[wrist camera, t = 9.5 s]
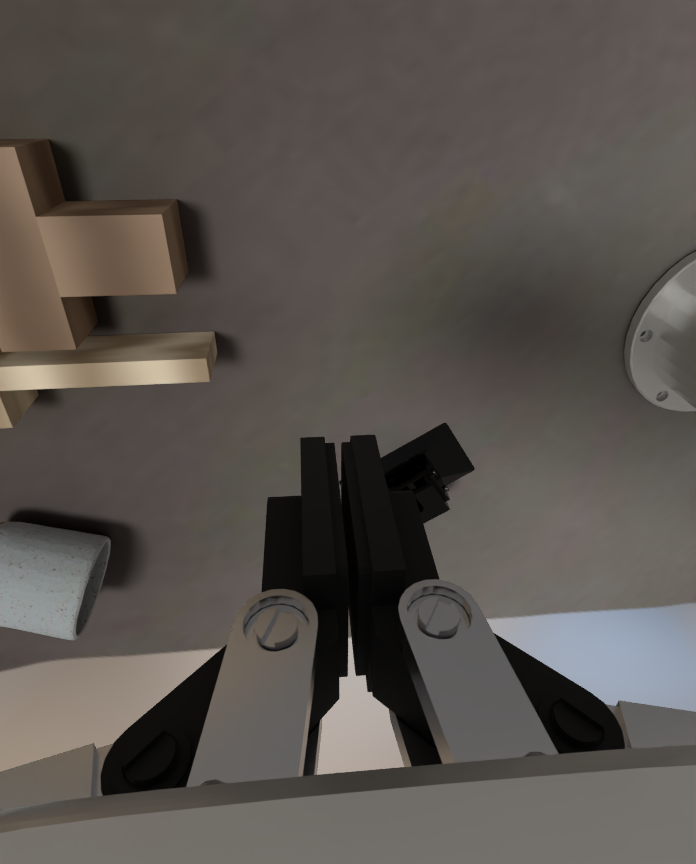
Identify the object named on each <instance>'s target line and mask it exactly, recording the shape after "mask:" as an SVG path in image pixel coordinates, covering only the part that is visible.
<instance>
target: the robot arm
mask: <svg viewBox="0 0 696 864" xmlns="http://www.w3.org/2000/svg"><path fill="white" fill-rule="evenodd" d="M624 360H625V368H626V371H627V374H628V378H629V380H630V381H631V383H632V384H633V386H634V387H635V389H636V390H637V391H638V392H639V393H640V394H642V395H643V396H644V397H645V398H646V399H647V400H648V401H650V402H651V403H653V404H654V405H656V406H659V407H662V408H664V409H667V410H672V411H680V412H690V411H696V251H695V252H693V253H692V254H690V255H688V256H686V257H685V258H684V259H682V260H681V261H680V262H679V263H677V264H676V265H675V266H674V267H672V268H671V269H670V270H669V271H668V272H667V273H666V274H665V275H664V276H663V277H662V278H661V279H660V280H659V281H658V282H657V283H656V284H655V285H654V286H653V287H652V289H651V290H650V291H649V293H648V294H647V295H646V297H645V298H644V299H643V301H642V302H641V304H640V306H639V308H638V309H637V311H636V313H635V315H634V317H633V319H632V321H631V324H630V327H629V330H628V333H627V336H626V342H625V348H624ZM300 441H301V495H302V496H285V497H268V501H267V515H266V531H265V547H264V563H263V579H262V593H258V594H257V595H255V596H254V597H252V598H250V599H249V600H248V601H247V602H246V603H245V604H244V605H243V606H242V607H241V608H240V609H239V611H238V613H237V615H236V618H235V620H234V623H233V627H232V630H231V634H230V637H229V640H228V644H227V645H226V646H225V647H223V648H222V649H221V650H220V651H219V652H217V653H216V654H215V655H214V656H213V657H212V658H210V659H209V660H208V661H207V662H206V663H205V664H203V665H202V666H201V667H200V668H199V669H197V670H196V671H195V672H194V673H193V674H192V675H190V676H189V677H188V678H187V679H186V680H184V681H183V682H182V683H181V684H180V685H179V686H177V687H176V688H175V689H174V690H173V691H172V692H170V693H169V694H168V695H167V696H166V697H165V698H163V699H162V700H161V701H160V702H159V703H157V704H156V705H155V706H154V707H153V708H152V709H150V710H149V711H148V712H147V713H146V714H144V715H143V716H142V717H141V718H140V719H139V720H138V721H136V722H135V723H134V724H133V725H131V726H130V727H129V728H128V729H127V730H126V731H125V732H124V733H123V734H122V735H121V736H120V737H119V738H118V739H117V740H116V741H115V742H114V743H113V744H110V745H107V746H104V747H100V748H97V749H96V747H95V745H94V743H93V744H90V745H86V746H83V747H80V748H77V749H74V750H70V751H67V752H63V753H60V754H57V755H54V756H51V757H47V758H44V759H41V760H37V761H34V762H31V763H28V764H24V765H21V766H18V767H15V768H11V769H8V770H5V771H2V772H0V864H696V712H692V711H686V710H679V709H672V708H665V707H658V706H652V705H645V704H639V703H632V702H625V701H618V704H617V705H616V706H612V705H605V703H604V702H602V701H601V700H599V699H598V698H597V697H596V696H594V695H593V694H592V693H590V692H588V691H587V690H586V689H584V688H582V687H581V686H579V685H577V684H576V683H574V682H573V681H571V680H569V679H568V678H566V677H564V676H563V675H561V674H559V673H558V672H556V671H555V670H553V669H551V668H549V667H548V666H547V665H545V664H543V663H542V662H540V661H538V660H537V659H535V658H534V657H532V656H530V655H529V654H527V653H525V652H524V651H522V650H520V649H519V648H517V647H516V646H514V645H512V644H511V643H509V642H507V641H506V640H504V639H503V638H501V637H499V636H498V635H496V634H494V633H493V632H492V630H491V628H490V626H489V624H488V622H487V620H486V618H485V617H484V615H483V613H482V611H481V609H480V607H479V605H478V604H477V602H476V601H475V600H474V598H473V597H472V596H471V594H470V593H468V592H467V591H466V590H464V589H463V588H462V587H460V586H458V585H456V584H454V583H451V582H449V581H444V580H439V576H438V573H437V570H436V566H435V563H434V559H433V556H432V552H431V549H430V546H429V542H428V539H427V535H426V532H425V529H424V525H423V522H422V518H421V515H420V511H419V508H418V505H417V501H416V498H415V495H414V492H413V491H412V490H407V491H388V488H387V484H386V480H385V475H384V471H383V467H382V462H381V458H380V454H379V449H378V445H377V441H376V437H375V435H356V436H351V437H350V442H342V444H341V498H340V489H339V481H338V472H337V463H336V454H335V445H334V443H325V438H324V437H308V438H300ZM348 607H349V616H350V626H351V636H352V645H353V654H354V664H355V672H356V676H360V675H366V681H367V690H368V692H372V693H373V697H375V698H376V699H377V700H378V701H380V702H381V703H382V704H384V705H385V706H386V707H387V708H389V713H390V720H391V724H392V727H393V730H394V733H395V737H396V740H397V743H398V747H399V750H400V753H401V756H402V760H403V763H404V766H405V767H403V768H402V767H401V768H390V769H379V770H368V771H356V772H345V773H334V774H323V775H317V768H318V757H319V748H320V739H321V729H322V720H321V719H322V717H323V716H324V715H325V714H326V713H327V712H328V710H330V708H331V707H332V706H333V705H334V704H335V703H336V702H337V701H338V699H339V677H347V676H348Z"/></svg>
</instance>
